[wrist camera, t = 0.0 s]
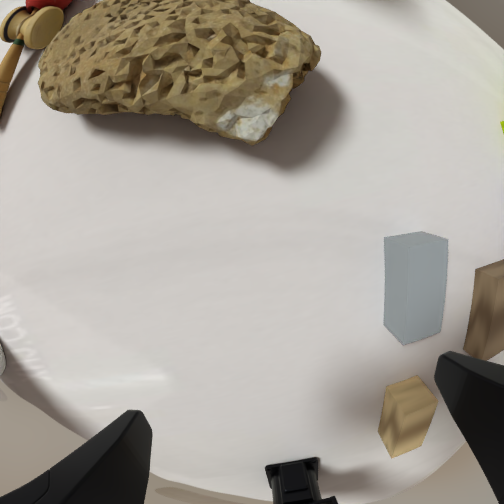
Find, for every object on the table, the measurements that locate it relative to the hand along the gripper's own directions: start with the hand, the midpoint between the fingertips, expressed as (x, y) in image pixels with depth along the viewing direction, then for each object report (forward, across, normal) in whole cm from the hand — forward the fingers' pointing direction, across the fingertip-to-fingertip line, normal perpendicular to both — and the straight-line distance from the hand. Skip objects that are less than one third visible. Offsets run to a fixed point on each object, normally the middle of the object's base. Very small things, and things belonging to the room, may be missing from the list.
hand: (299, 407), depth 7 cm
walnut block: (+15, -26, +9) cm, 31 cm away
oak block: (+15, -13, +19) cm, 28 cm away
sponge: (+15, +5, -16) cm, 23 cm away
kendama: (+15, +20, -27) cm, 37 cm away
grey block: (+15, -12, +3) cm, 19 cm away
